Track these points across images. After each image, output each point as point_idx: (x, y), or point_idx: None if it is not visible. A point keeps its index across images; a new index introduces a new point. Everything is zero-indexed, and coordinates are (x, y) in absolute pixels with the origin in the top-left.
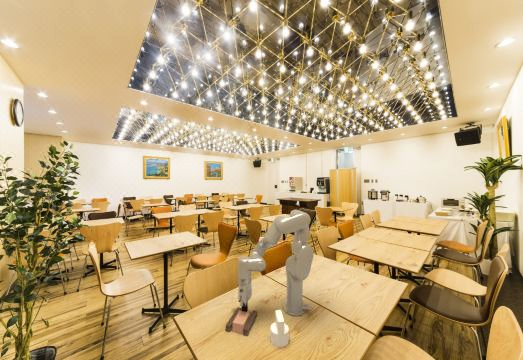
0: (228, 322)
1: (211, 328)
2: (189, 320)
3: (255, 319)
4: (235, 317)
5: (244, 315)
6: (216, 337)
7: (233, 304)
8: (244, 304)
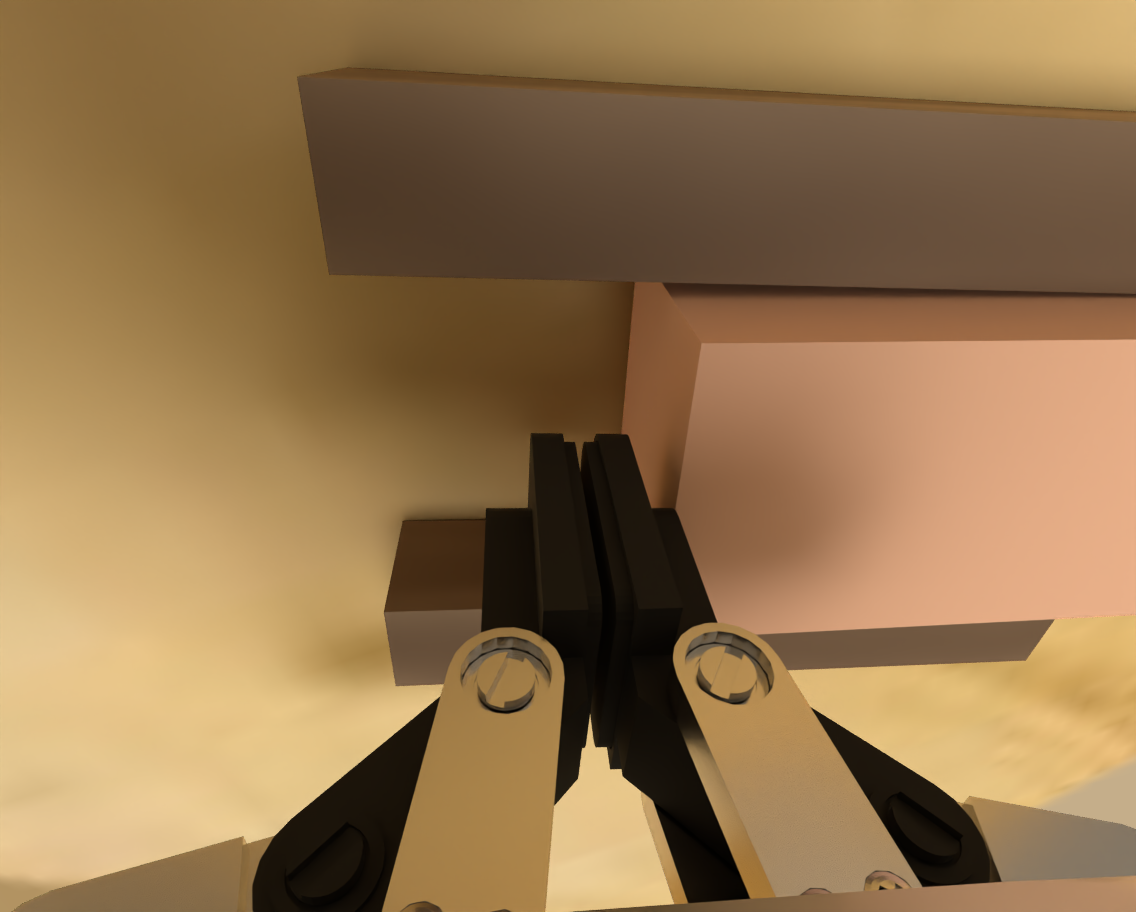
0: (946, 650)
1: (877, 732)
2: None
3: (536, 78)
4: None
5: (877, 455)
6: (1072, 625)
7: (218, 718)
8: (938, 801)
